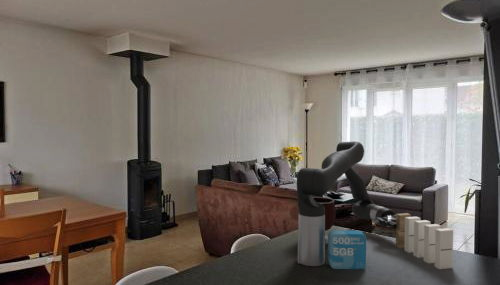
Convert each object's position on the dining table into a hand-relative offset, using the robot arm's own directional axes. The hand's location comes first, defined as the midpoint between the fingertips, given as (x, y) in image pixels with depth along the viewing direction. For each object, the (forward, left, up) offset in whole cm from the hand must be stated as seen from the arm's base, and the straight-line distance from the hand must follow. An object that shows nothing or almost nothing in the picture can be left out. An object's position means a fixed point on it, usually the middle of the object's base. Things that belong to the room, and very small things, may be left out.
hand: (406, 225), depth 147 cm
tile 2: (+2, -4, -9) cm, 10 cm away
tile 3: (+4, -9, -9) cm, 13 cm away
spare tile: (-1, +1, -9) cm, 9 cm away
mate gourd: (-35, +3, -9) cm, 36 cm away
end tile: (+9, -19, -9) cm, 22 cm away
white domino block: (+6, -14, -9) cm, 17 cm away
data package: (-24, -25, -9) cm, 35 cm away
